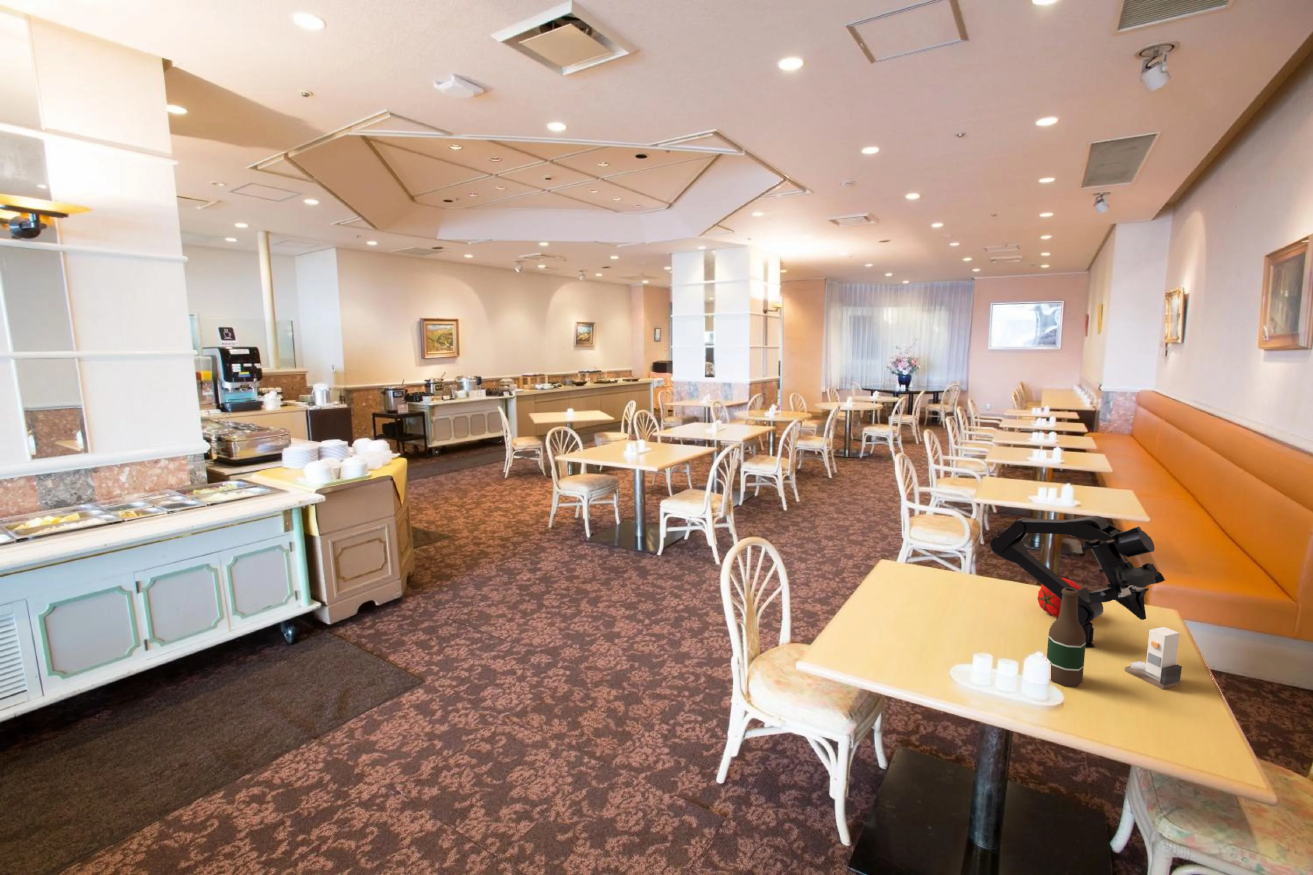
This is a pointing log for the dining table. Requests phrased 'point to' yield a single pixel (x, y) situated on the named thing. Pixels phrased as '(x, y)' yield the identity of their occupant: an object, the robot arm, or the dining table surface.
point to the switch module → (1161, 650)
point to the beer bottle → (1067, 643)
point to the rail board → (1167, 680)
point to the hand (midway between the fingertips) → (1143, 619)
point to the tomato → (1052, 599)
